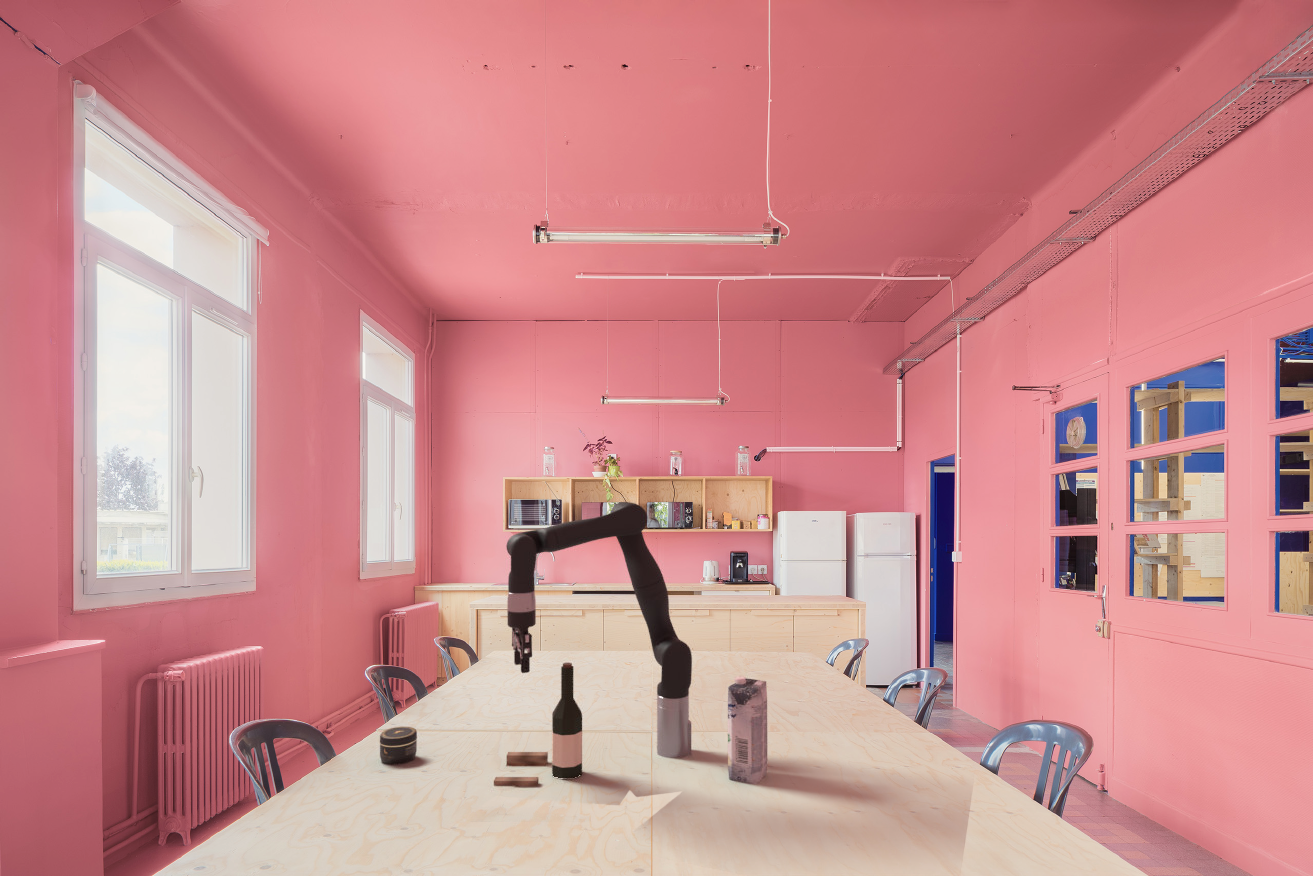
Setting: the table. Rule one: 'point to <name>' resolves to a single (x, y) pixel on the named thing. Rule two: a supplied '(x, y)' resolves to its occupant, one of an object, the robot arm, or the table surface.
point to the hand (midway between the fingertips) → (521, 668)
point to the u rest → (523, 760)
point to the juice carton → (747, 730)
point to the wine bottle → (567, 730)
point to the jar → (398, 745)
